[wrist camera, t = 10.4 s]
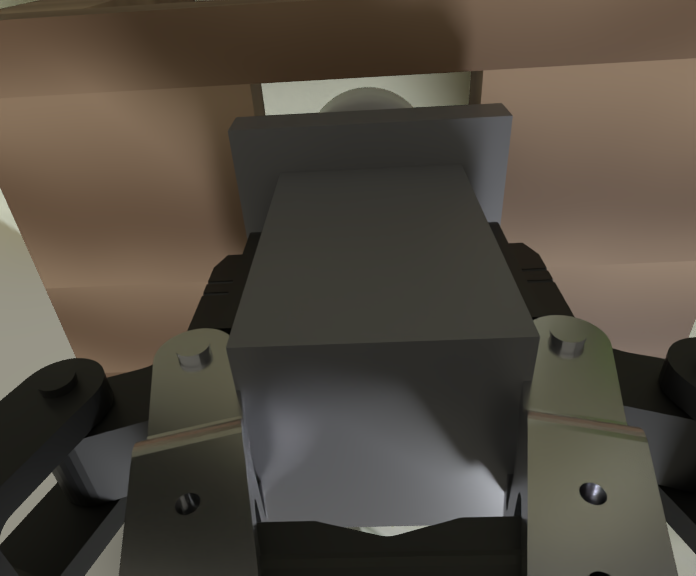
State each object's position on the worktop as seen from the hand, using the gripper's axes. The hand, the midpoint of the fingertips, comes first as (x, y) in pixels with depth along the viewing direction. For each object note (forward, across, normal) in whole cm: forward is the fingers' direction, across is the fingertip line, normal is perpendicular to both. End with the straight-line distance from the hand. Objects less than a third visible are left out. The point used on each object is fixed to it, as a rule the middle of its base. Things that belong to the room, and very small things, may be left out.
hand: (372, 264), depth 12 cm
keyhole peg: (+8, 0, 0) cm, 8 cm away
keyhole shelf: (+15, 0, +1) cm, 15 cm away
